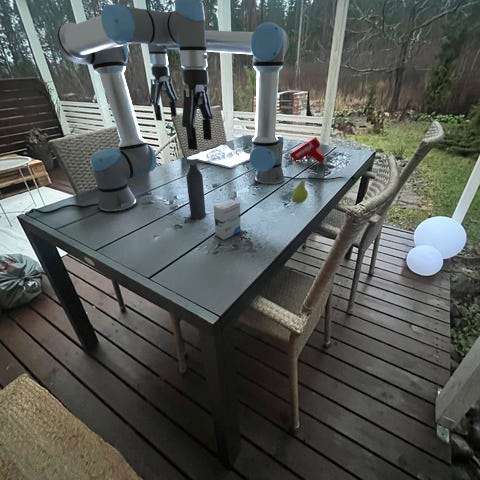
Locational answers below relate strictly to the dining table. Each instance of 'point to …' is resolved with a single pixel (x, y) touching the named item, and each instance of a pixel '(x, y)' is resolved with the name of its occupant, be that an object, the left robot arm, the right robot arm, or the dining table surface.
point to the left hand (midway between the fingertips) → (200, 144)
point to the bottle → (195, 192)
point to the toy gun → (308, 151)
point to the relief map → (223, 156)
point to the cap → (192, 160)
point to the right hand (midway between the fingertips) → (167, 118)
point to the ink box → (227, 218)
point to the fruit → (300, 192)
